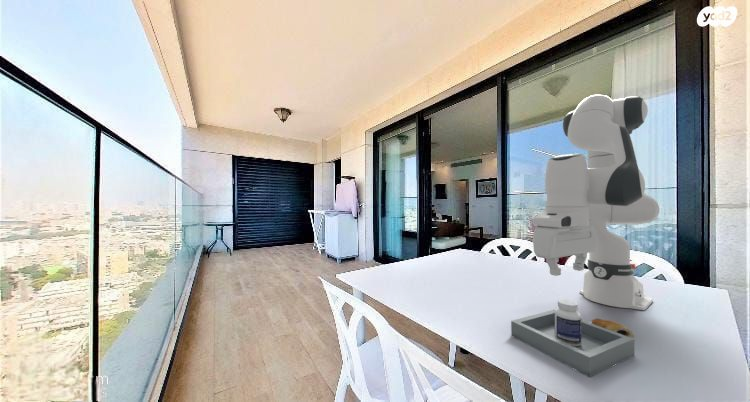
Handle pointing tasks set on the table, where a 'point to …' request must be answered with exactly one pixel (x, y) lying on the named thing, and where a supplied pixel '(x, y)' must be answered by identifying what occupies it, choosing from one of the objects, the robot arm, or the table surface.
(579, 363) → the tray
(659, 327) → the table surface
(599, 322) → the pastry
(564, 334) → the pill bottle
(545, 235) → the robot arm
